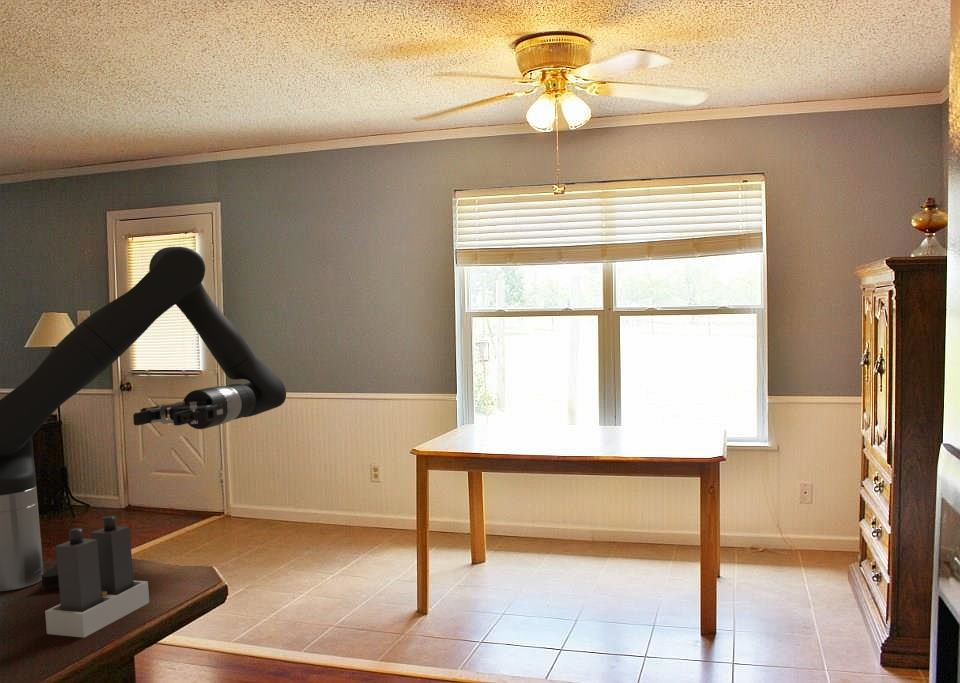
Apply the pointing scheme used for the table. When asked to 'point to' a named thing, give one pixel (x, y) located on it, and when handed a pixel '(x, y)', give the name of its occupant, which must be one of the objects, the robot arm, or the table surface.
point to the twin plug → (78, 573)
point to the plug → (114, 557)
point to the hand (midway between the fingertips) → (154, 419)
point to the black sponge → (50, 579)
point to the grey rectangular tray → (97, 612)
